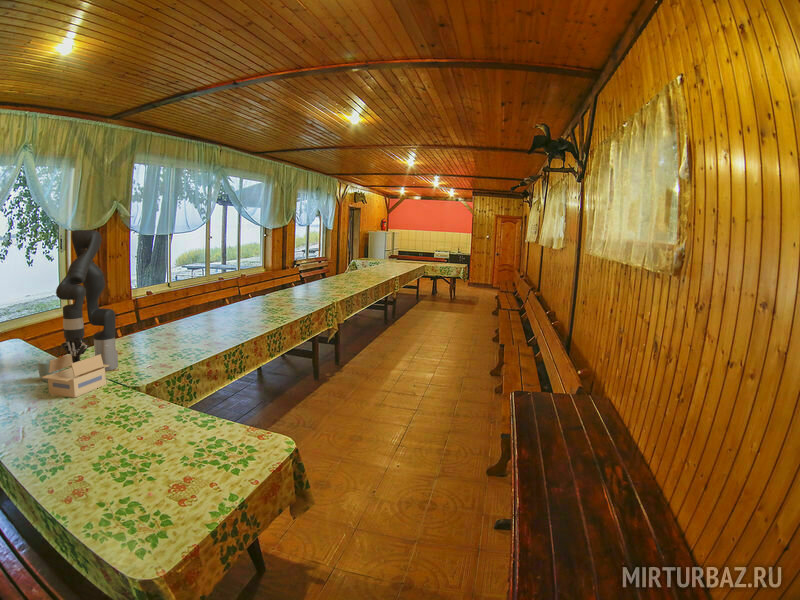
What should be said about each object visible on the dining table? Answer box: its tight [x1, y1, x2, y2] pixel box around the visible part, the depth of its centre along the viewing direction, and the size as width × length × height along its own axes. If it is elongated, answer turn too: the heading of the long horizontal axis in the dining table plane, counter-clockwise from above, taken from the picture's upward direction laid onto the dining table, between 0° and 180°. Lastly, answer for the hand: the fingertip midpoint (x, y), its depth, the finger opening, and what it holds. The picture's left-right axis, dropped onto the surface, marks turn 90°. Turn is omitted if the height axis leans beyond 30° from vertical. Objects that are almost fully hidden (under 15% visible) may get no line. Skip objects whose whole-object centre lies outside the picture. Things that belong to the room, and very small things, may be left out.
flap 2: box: [70, 354, 104, 376], centre depth 192 cm, size 15×6×1 cm
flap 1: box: [49, 354, 82, 373], centre depth 195 cm, size 15×6×1 cm
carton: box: [40, 364, 110, 399], centre depth 195 cm, size 22×14×9 cm, turn 170°
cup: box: [37, 358, 61, 383], centre depth 203 cm, size 8×8×10 cm
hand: (76, 363), depth 193 cm, fingers closed
